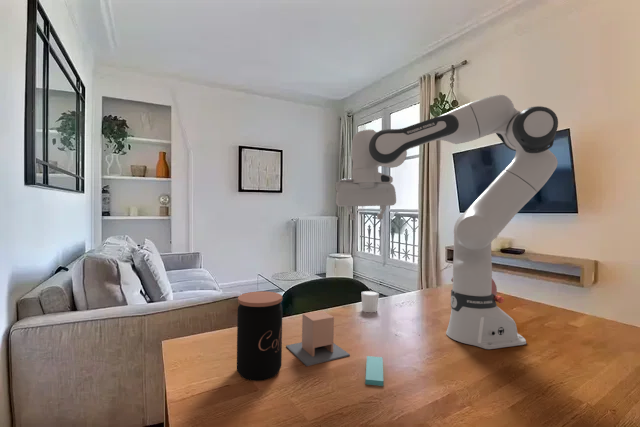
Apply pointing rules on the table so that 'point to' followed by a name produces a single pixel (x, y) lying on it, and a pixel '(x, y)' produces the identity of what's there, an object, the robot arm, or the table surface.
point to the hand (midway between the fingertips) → (366, 219)
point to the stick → (374, 371)
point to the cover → (317, 331)
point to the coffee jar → (259, 335)
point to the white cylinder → (369, 301)
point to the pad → (317, 354)
